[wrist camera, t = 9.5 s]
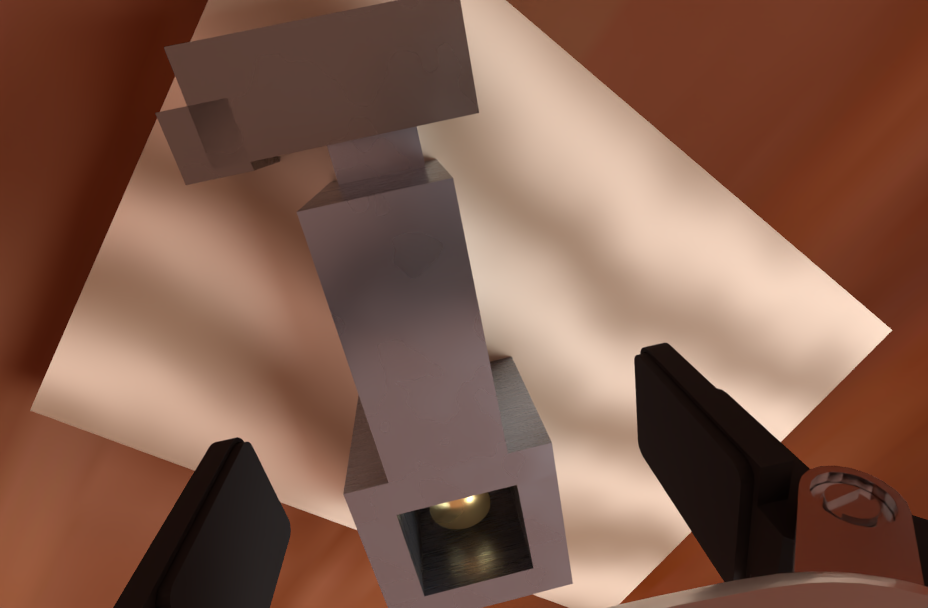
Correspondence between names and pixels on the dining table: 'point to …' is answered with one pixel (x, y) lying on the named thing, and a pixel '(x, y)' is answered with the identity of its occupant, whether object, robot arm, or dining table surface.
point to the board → (497, 288)
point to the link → (429, 389)
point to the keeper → (316, 84)
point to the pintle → (461, 511)
